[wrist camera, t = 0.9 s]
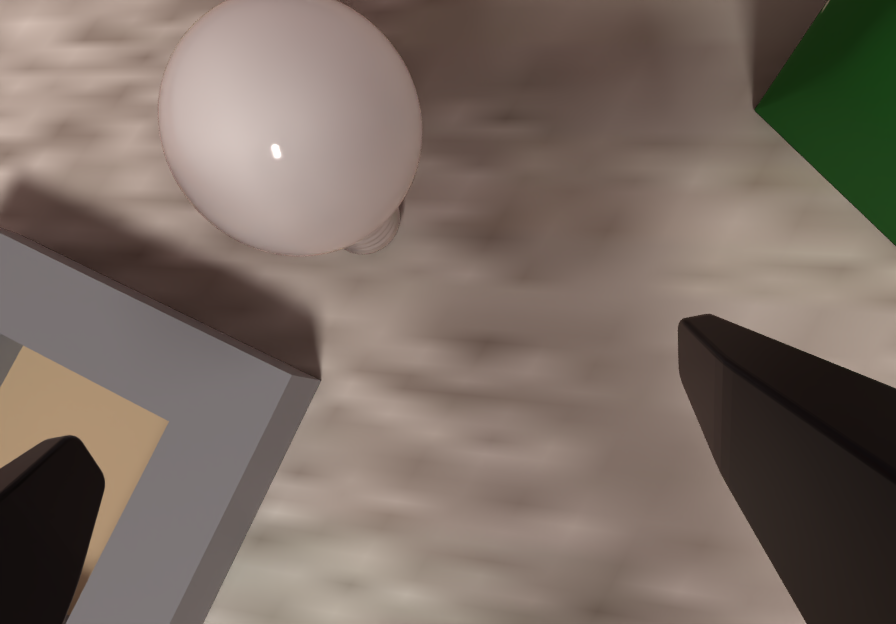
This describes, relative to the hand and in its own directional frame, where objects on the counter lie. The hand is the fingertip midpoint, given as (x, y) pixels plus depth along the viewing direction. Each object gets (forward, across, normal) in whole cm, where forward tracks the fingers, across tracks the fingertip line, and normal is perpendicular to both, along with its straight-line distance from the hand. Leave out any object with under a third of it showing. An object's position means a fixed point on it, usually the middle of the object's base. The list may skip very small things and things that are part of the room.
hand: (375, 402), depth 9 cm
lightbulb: (+15, +2, +3) cm, 15 cm away
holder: (+10, +14, +8) cm, 19 cm away
